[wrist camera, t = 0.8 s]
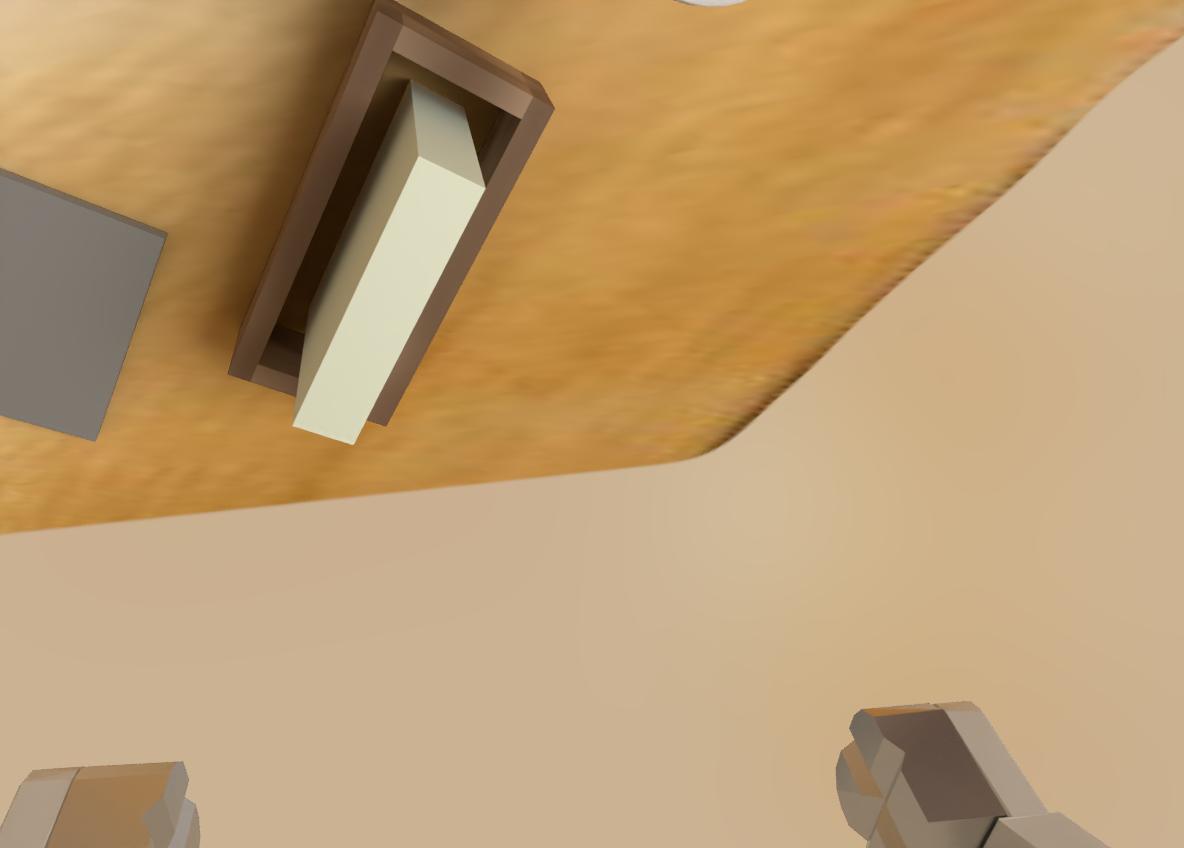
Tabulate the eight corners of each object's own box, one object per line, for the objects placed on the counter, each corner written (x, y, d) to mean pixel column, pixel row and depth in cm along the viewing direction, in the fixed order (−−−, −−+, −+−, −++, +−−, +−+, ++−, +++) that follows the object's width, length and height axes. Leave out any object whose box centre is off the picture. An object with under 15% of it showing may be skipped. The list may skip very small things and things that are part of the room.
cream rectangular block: (308, 307, 42) (292, 425, 34) (410, 78, 37) (418, 155, 29) (358, 325, 43) (353, 445, 35) (463, 106, 38) (485, 188, 30)
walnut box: (239, 330, 42) (227, 374, 39) (377, -9, 35) (377, 11, 31) (385, 382, 45) (386, 426, 42) (540, 82, 38) (554, 108, 35)
